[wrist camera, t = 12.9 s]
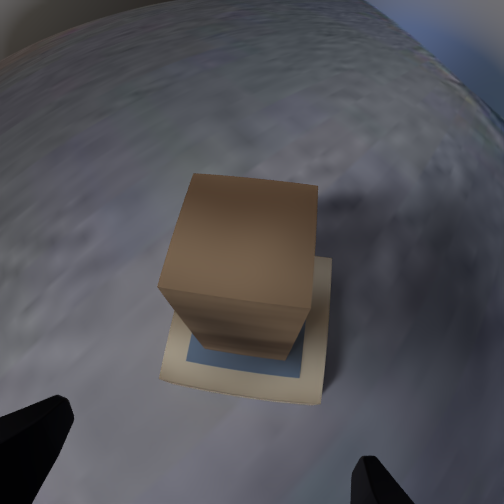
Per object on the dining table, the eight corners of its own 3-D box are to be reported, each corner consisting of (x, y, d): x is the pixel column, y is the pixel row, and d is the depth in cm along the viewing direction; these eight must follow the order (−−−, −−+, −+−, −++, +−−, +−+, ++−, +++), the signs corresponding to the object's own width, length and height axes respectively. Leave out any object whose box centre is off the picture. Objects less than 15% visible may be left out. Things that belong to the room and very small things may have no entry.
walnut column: (285, 360, 18) (310, 308, 10) (204, 348, 19) (157, 286, 10) (293, 286, 21) (318, 185, 12) (219, 276, 21) (193, 173, 12)
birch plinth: (312, 405, 20) (320, 403, 17) (171, 383, 21) (158, 378, 18) (324, 276, 24) (332, 257, 22) (199, 260, 25) (192, 240, 23)
